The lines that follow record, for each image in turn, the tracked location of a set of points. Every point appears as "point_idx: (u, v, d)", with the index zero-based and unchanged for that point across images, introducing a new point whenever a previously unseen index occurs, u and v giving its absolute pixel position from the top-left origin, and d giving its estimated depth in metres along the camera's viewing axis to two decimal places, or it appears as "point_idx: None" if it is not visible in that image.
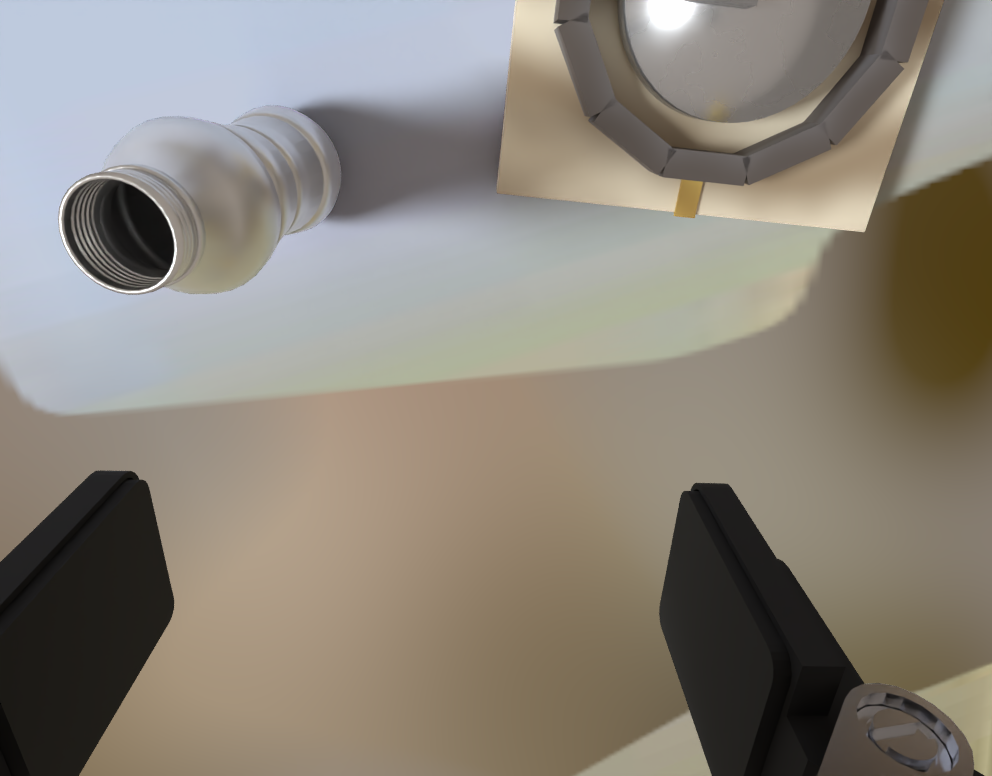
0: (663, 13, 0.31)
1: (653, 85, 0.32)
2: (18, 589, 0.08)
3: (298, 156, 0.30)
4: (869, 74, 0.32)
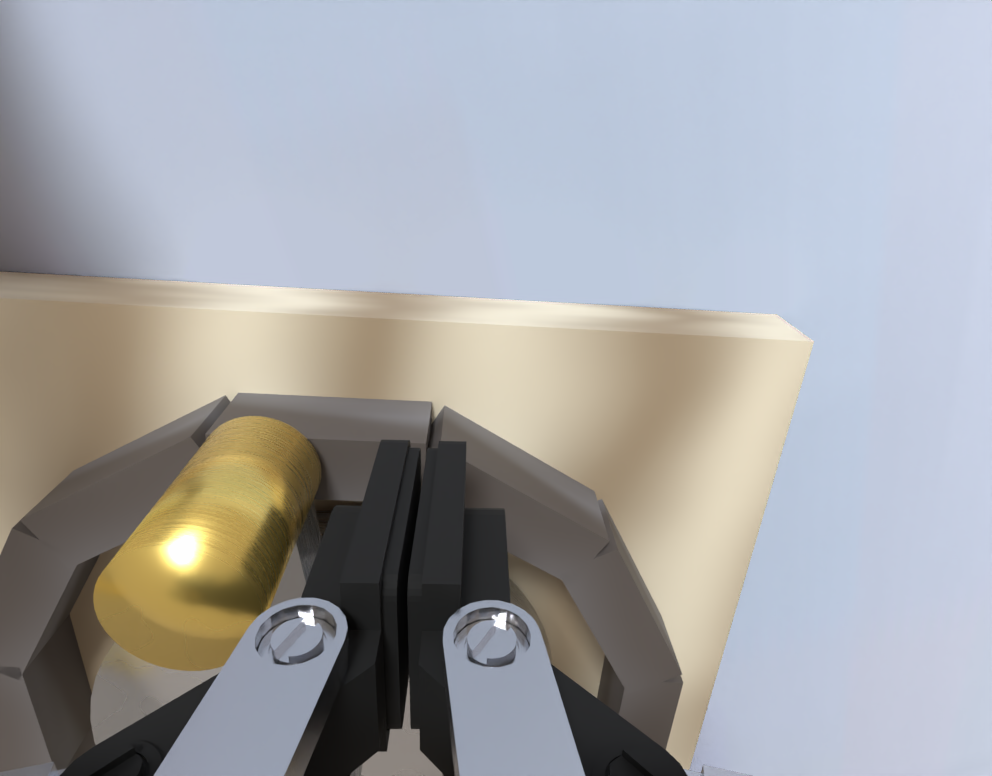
0: None
1: (109, 650, 0.15)
2: (388, 533, 0.09)
3: None
4: None
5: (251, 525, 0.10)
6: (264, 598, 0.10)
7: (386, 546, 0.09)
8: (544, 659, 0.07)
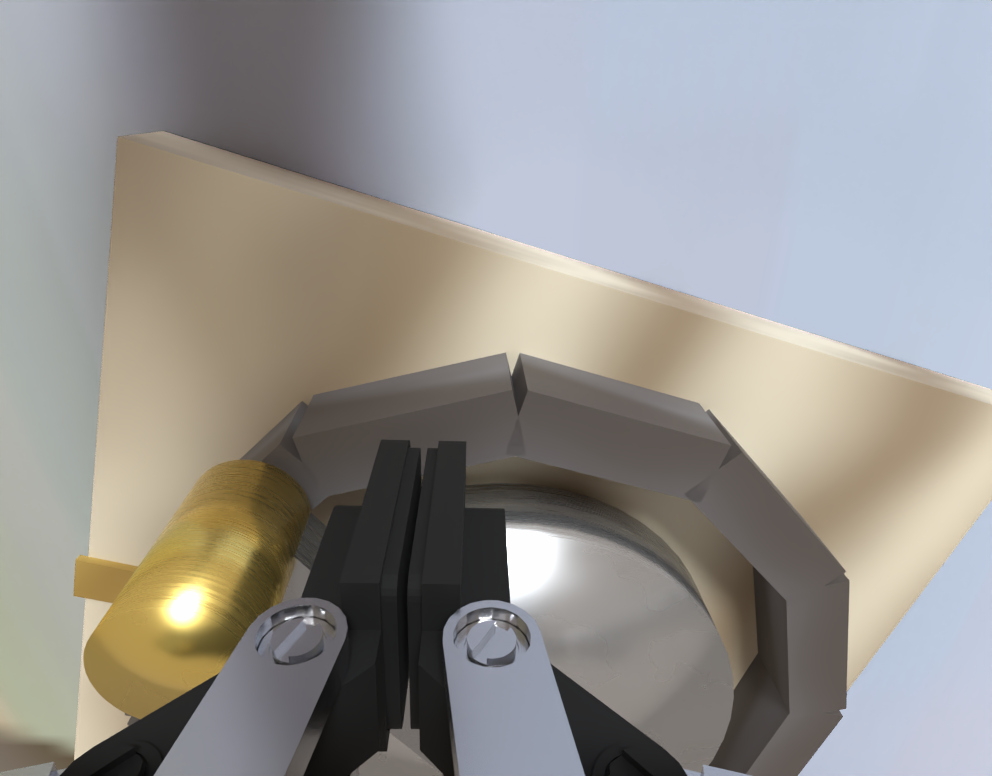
0: None
1: None
2: (388, 533, 0.09)
3: None
4: None
5: (199, 563, 0.10)
6: (233, 622, 0.09)
7: (386, 546, 0.09)
8: (544, 659, 0.07)
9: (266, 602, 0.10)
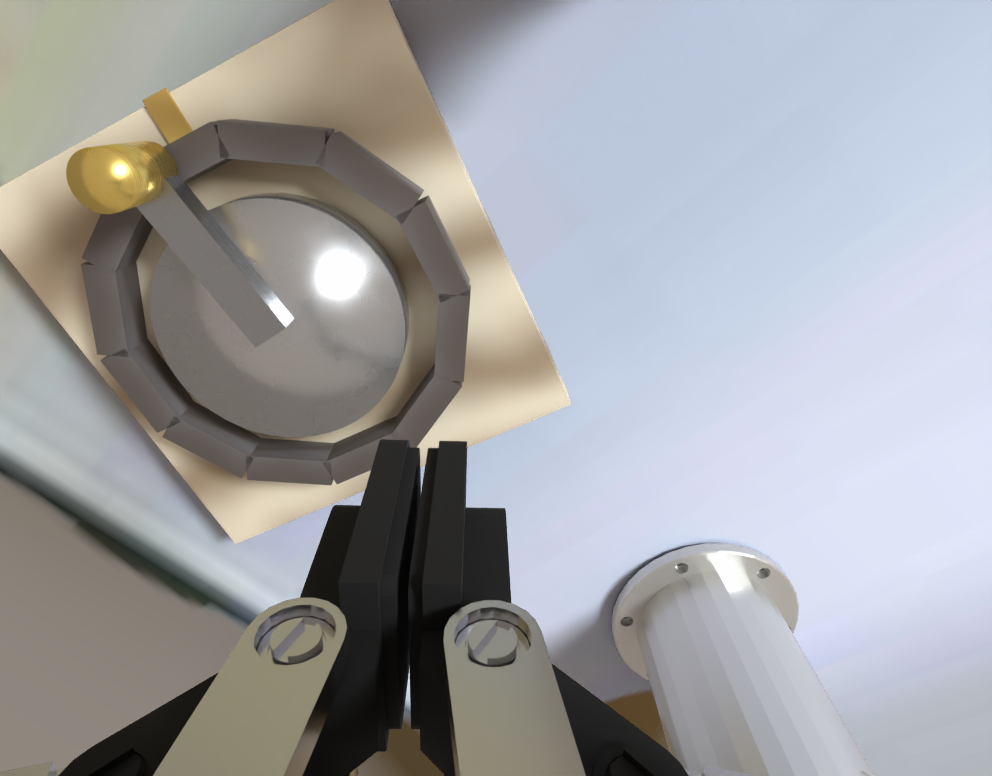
0: None
1: (151, 314, 0.30)
2: (387, 532, 0.09)
3: None
4: (119, 333, 0.31)
5: (116, 147, 0.24)
6: (126, 163, 0.24)
7: (385, 547, 0.09)
8: (545, 659, 0.07)
9: (144, 173, 0.25)
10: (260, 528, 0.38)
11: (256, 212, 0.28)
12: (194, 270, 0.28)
